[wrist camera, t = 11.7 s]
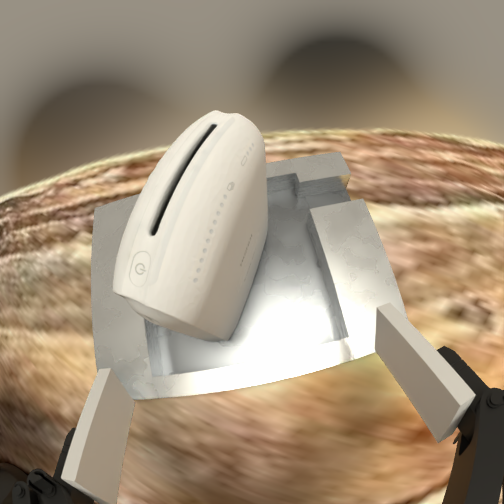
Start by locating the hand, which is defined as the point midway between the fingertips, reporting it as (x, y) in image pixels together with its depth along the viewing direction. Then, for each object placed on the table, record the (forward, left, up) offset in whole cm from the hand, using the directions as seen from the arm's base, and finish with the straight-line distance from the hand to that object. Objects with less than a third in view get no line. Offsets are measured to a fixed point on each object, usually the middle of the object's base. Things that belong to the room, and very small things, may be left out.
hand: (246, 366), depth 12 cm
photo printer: (-1, +7, -7) cm, 10 cm away
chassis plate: (0, +7, -7) cm, 10 cm away
